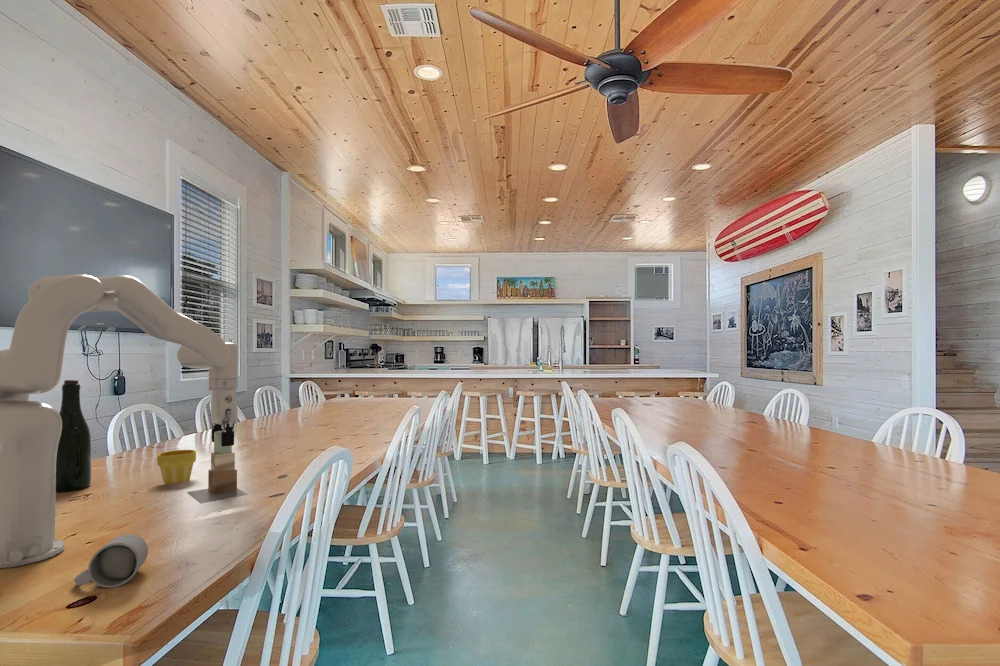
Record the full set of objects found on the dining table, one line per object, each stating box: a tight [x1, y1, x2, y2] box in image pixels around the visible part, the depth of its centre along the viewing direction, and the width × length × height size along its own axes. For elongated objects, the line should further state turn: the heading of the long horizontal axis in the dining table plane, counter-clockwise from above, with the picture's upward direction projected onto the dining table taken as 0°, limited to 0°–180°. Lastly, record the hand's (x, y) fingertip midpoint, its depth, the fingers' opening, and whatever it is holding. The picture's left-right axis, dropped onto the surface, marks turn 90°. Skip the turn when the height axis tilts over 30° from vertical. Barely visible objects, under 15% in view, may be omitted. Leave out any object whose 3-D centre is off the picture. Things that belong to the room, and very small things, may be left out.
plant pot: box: [156, 449, 197, 486], centre depth 165 cm, size 10×10×10 cm
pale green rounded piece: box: [213, 431, 233, 454], centre depth 153 cm, size 5×5×6 cm
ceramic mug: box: [73, 533, 149, 589], centre depth 97 cm, size 11×8×8 cm
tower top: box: [210, 450, 236, 473], centre depth 153 cm, size 5×5×5 cm
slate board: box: [186, 487, 248, 504], centre depth 150 cm, size 15×12×1 cm
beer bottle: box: [56, 379, 92, 493], centre depth 161 cm, size 10×10×33 cm
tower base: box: [207, 468, 238, 495], centre depth 153 cm, size 6×6×6 cm
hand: (222, 443), depth 153 cm, fingers open, 9 cm apart
